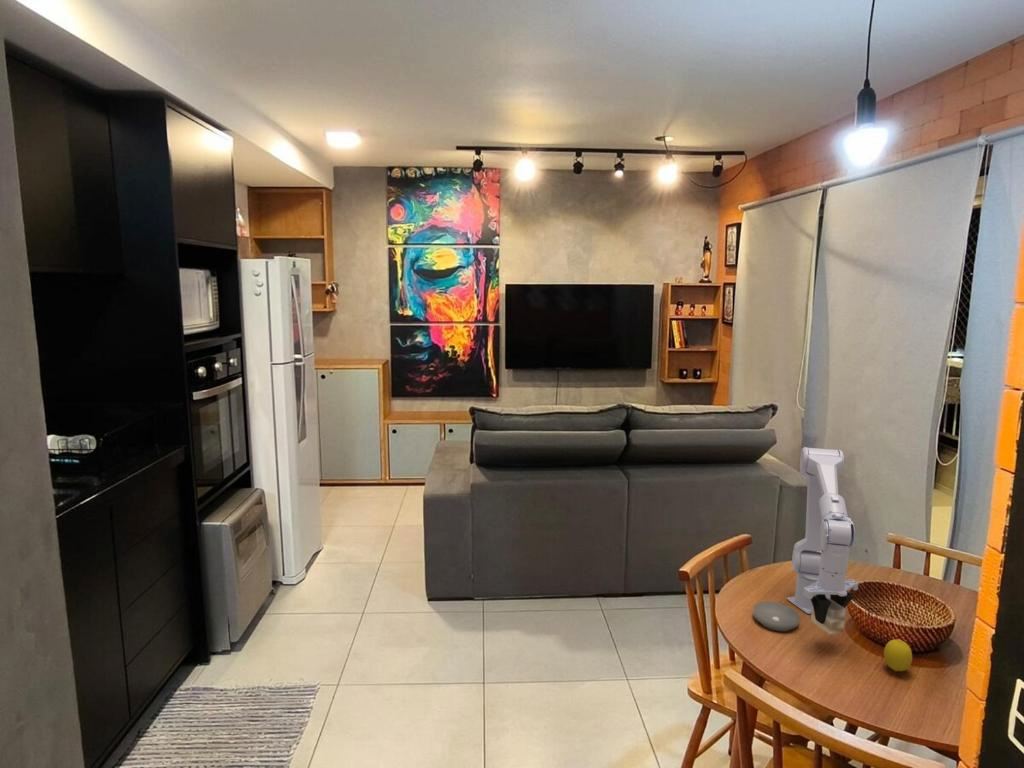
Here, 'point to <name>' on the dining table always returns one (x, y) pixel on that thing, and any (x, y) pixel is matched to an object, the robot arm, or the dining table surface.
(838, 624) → the block
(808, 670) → the dining table surface
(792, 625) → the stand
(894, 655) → the lemon
